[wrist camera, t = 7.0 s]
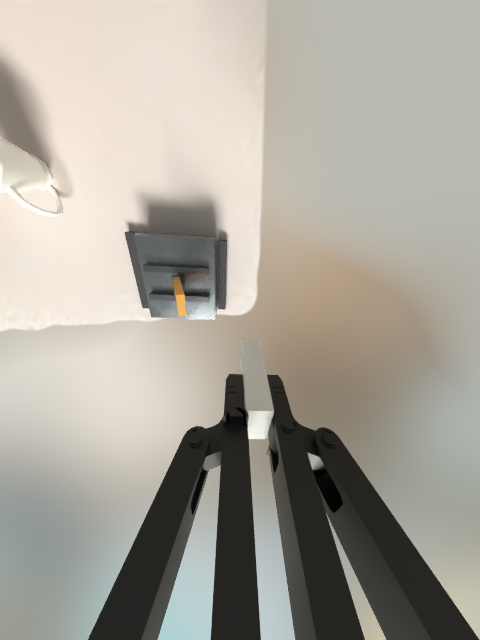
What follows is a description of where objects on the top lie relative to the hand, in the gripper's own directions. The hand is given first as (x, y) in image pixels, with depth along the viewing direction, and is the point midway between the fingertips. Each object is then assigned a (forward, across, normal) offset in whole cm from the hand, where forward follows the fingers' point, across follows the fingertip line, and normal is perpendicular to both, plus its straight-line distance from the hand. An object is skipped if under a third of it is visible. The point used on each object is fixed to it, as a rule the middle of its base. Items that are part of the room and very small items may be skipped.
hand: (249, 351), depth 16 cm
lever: (+16, -11, 0) cm, 19 cm away
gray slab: (+22, -19, 0) cm, 29 cm away
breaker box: (+22, -11, 0) cm, 25 cm away
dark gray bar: (+22, -4, 0) cm, 23 cm away
